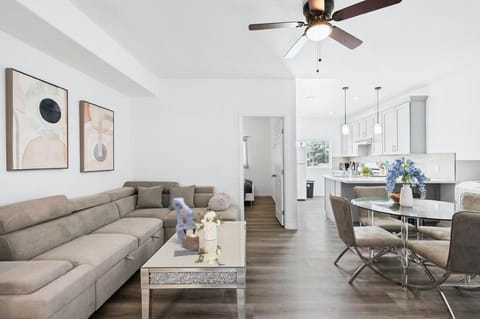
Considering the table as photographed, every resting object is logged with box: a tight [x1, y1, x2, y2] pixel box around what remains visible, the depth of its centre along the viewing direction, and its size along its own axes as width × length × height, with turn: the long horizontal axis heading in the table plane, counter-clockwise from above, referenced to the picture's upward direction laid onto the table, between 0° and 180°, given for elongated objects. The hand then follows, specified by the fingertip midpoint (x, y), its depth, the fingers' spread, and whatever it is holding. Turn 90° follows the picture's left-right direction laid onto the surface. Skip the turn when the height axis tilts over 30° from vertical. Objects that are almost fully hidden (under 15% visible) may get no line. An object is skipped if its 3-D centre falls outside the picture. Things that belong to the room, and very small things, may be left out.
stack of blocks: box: [181, 233, 200, 251], centre depth 239 cm, size 21×6×12 cm, turn 41°
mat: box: [173, 249, 199, 257], centre depth 228 cm, size 14×28×1 cm, turn 103°
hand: (189, 237), depth 246 cm, fingers open, 6 cm apart
